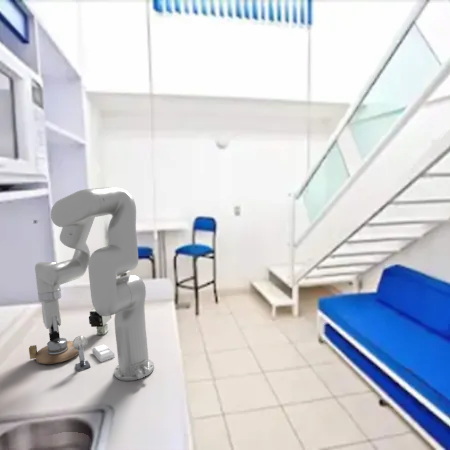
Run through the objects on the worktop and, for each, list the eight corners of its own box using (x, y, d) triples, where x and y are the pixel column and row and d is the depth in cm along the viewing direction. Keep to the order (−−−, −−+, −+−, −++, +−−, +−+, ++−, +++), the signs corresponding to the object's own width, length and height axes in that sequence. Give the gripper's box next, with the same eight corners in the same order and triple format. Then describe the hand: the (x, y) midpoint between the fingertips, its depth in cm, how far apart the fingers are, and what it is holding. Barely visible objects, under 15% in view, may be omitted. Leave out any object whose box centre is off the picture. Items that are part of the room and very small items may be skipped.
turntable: (83, 341, 144) (82, 331, 144) (78, 359, 130) (76, 348, 129) (36, 348, 140) (34, 338, 140) (25, 368, 126) (23, 356, 125)
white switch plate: (106, 349, 139) (105, 342, 139) (114, 358, 132) (114, 351, 132) (92, 354, 137) (91, 347, 136) (100, 363, 129) (100, 356, 129)
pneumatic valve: (113, 327, 159) (111, 300, 157) (102, 339, 148) (99, 310, 146) (101, 327, 160) (98, 300, 158) (88, 339, 148) (85, 310, 146)
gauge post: (91, 367, 126) (87, 336, 125) (77, 371, 124) (73, 340, 122) (88, 362, 130) (84, 332, 128) (74, 366, 127) (71, 336, 126)
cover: (70, 351, 134) (69, 341, 134) (49, 357, 130) (48, 347, 130) (65, 344, 140) (64, 335, 139) (46, 350, 136) (44, 341, 135)
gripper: (35, 292, 141) (41, 338, 143) (41, 302, 128) (47, 353, 131) (57, 287, 145) (62, 333, 147) (64, 297, 132) (70, 346, 135)
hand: (55, 342), depth 139 cm, fingers closed
